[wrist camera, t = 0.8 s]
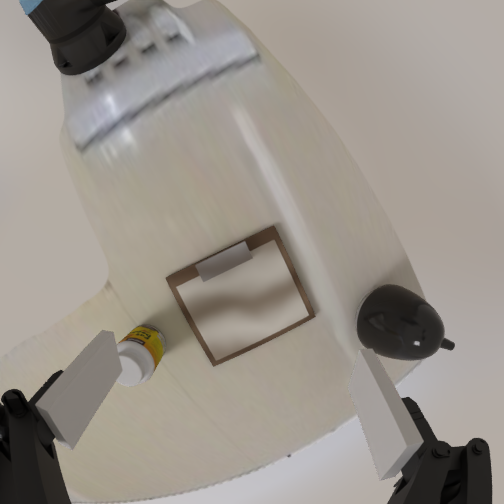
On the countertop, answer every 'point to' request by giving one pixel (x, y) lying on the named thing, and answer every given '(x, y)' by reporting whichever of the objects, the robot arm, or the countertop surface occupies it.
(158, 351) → the supplement bottle
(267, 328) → the clipboard
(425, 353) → the pump dispenser
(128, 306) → the countertop surface
